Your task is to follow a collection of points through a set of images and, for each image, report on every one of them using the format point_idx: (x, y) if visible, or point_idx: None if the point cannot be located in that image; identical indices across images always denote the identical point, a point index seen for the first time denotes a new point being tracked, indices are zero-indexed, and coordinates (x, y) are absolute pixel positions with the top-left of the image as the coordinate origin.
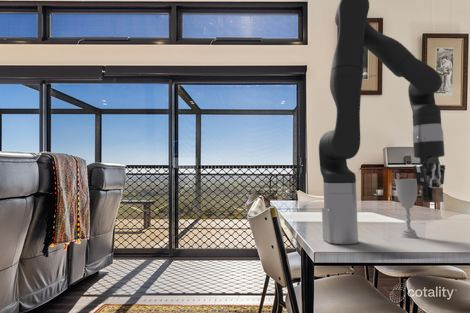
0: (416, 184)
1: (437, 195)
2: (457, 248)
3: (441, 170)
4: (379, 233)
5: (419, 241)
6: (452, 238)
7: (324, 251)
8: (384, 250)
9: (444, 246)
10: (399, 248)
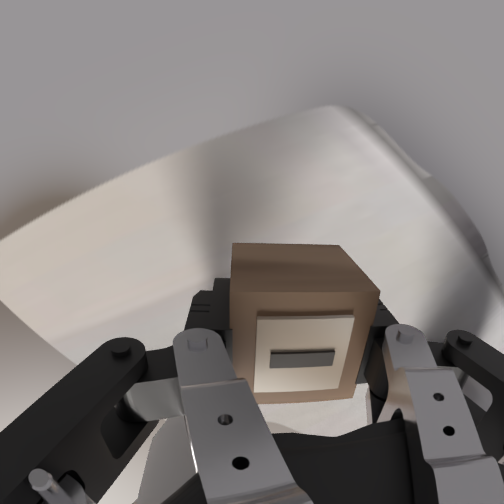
0: (189, 477)
1: (339, 263)
2: (304, 134)
3: (48, 471)
4: None
5: None
6: (126, 217)
7: None
8: (466, 265)
9: (304, 175)
10: (427, 254)
